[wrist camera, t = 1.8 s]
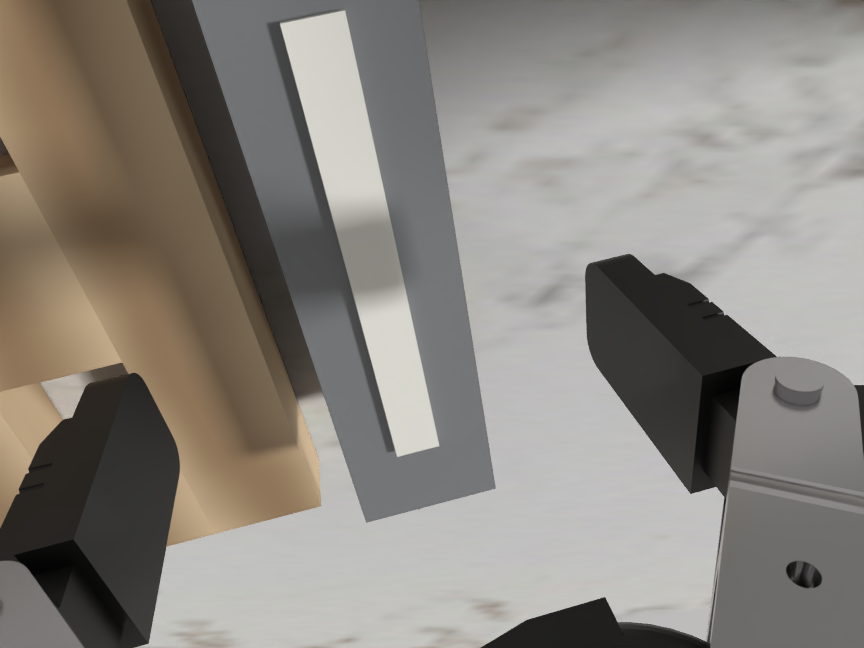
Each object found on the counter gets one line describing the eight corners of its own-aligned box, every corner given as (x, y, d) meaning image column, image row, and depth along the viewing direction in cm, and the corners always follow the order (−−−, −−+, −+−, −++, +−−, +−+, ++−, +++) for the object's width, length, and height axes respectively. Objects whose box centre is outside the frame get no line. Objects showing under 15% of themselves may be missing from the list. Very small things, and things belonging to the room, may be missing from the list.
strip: (357, -137, 16) (393, -176, 10) (450, 365, 25) (497, 494, 19) (198, -107, 16) (145, -130, 10) (349, 390, 24) (367, 529, 19)
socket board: (57, -254, 14) (15, -287, 12) (318, 459, 26) (320, 506, 24) (-533, -152, 13) (-691, -168, 11) (19, 536, 25) (-6, 591, 23)
